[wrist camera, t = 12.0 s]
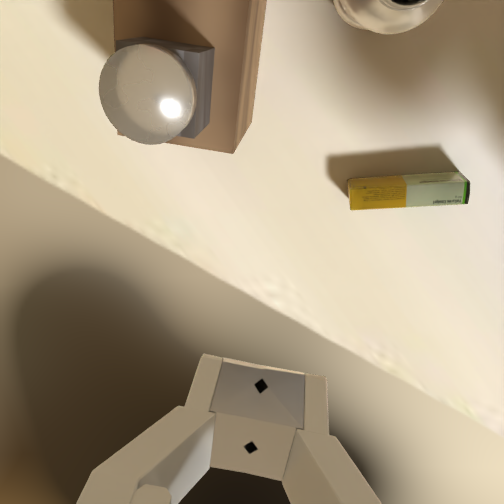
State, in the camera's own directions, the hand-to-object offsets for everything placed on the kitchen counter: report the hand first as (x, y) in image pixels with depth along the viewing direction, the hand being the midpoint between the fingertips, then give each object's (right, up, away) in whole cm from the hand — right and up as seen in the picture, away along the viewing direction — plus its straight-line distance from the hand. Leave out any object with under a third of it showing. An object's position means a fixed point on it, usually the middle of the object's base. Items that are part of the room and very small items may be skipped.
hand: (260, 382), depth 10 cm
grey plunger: (-6, +16, +22) cm, 28 cm away
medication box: (+17, +11, +37) cm, 42 cm away
